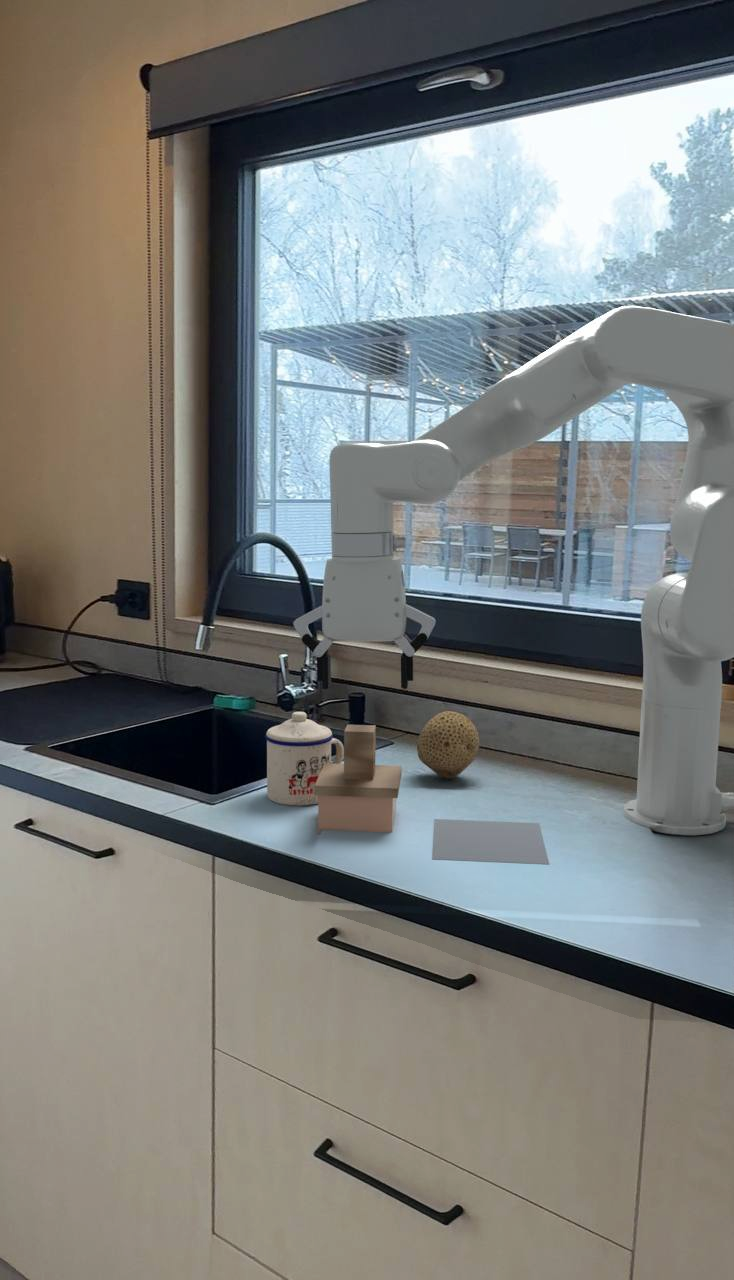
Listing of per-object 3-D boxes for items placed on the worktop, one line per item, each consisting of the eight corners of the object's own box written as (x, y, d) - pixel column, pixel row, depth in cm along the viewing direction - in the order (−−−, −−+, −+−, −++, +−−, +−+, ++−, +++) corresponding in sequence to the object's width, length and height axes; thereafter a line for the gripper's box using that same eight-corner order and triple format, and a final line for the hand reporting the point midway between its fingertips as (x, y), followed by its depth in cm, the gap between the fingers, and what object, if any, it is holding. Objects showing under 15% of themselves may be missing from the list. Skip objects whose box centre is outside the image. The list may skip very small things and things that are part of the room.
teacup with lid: (291, 811, 132) (291, 723, 131) (252, 794, 139) (251, 711, 138) (362, 794, 140) (363, 711, 138) (322, 779, 147) (322, 700, 145)
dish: (396, 813, 132) (396, 775, 131) (392, 836, 123) (392, 796, 123) (327, 810, 133) (327, 773, 132) (318, 833, 124) (318, 793, 123)
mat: (538, 827, 127) (539, 823, 127) (549, 869, 113) (549, 864, 113) (434, 823, 128) (434, 819, 128) (431, 864, 115) (432, 859, 114)
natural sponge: (481, 788, 143) (483, 719, 142) (417, 787, 144) (418, 718, 142) (475, 771, 152) (477, 705, 151) (415, 769, 152) (417, 704, 151)
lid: (401, 774, 132) (402, 720, 131) (397, 798, 122) (398, 739, 121) (324, 772, 133) (324, 718, 132) (314, 795, 123) (314, 736, 122)
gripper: (435, 544, 126) (436, 680, 129) (296, 546, 127) (300, 681, 130) (434, 548, 119) (435, 693, 121) (286, 550, 120) (291, 693, 123)
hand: (365, 686), depth 126 cm, fingers open, 9 cm apart
